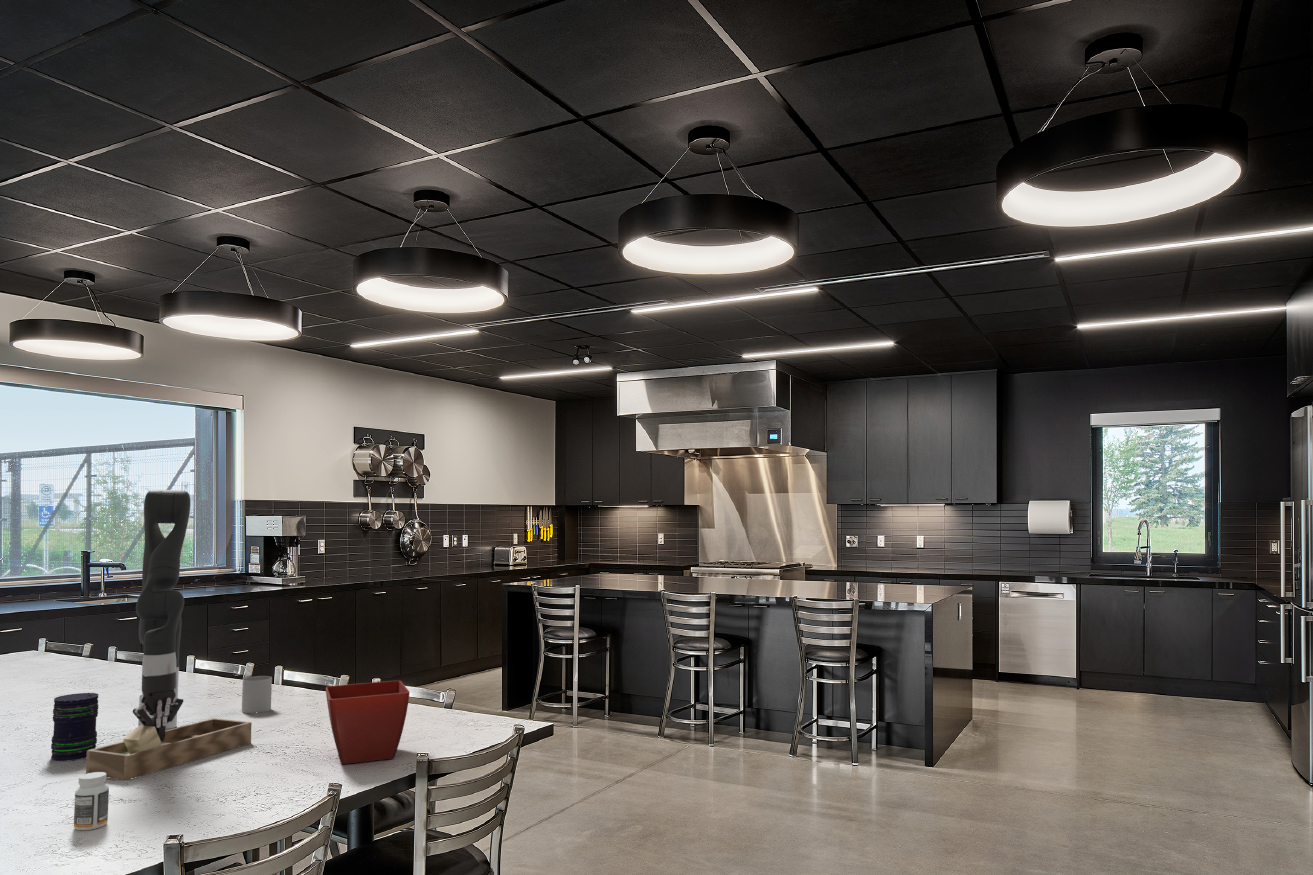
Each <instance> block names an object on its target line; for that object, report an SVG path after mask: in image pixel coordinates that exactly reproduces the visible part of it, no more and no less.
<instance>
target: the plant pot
mask: <svg viewBox="0 0 1313 875" xmlns="http://www.w3.org/2000/svg"><path fill="white" fill-rule="evenodd" d="M325 694H326V695H325V696H326V703H327V709H328V717H329V722H330V723H329V724H330V727H331V733H332V737H333V740H334V743H335V747H336V748H335V749H336V751H337V754H338V758H339V762H340V764H342V765H347V764H355V763H362V762H363V763H366V762H374V761H382V760H390V759H394V758H395V756H396V753H397V751H398V747H399V745H400V741H401V738H402V735H403V730H404V726H405V722H406V719H407V718H406V717H407V713H408V709H409V708H408V706H409V700H410V690H409V689H408V688H407V687H406V686H405V684H404V683H403V681H402V680H388V681H387V680H386V681H374V682H361V683H351V684H341V685H329V686H326V687H325Z"/></svg>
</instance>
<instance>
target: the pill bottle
mask: <svg viewBox="0 0 1313 875" xmlns="http://www.w3.org/2000/svg"><path fill="white" fill-rule="evenodd" d="M106 780H107V775H106V773H105V772H94V773H88V774H86V773H85V774H82V775H80V776H79V777H78V785H79V787H78V788H77V789H76V790H75V793H74V808H73V810H74V812H73V828H74V830H76V831H80V830H86V831H93V830H96V828H97V829H99V828H102V827H104V826H105V825H106V824H107V823H108V820H109V794H110V787H109V785H108V784H107V783H105V782H106ZM92 829H93V830H92Z"/></svg>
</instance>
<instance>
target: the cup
mask: <svg viewBox="0 0 1313 875" xmlns="http://www.w3.org/2000/svg"><path fill="white" fill-rule="evenodd" d="M272 681H273V678H272V676H268V675H257V676H248V677H244V678H243V679H242V687H241V692H242V693H241V694H242V695H241V713H242V712H245V713H244V714H247V713H254V714H257V713H256V712H262V713H265V712H264V711H267V712H269V711H268V710H270V709H271V710H272V690H273V689H272V687H273V685H272V683H273V682H272ZM271 710H270V711H271Z"/></svg>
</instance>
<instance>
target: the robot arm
mask: <svg viewBox="0 0 1313 875" xmlns="http://www.w3.org/2000/svg"><path fill="white" fill-rule="evenodd" d="M190 513H191V495H190V493H189V492H188V491H186V490H179V489H178V490H176V489H172V490H171V489H150V490H148V492H146V493H145V497H144V501H143V523H144V524H143V526H144V527H143V528H144V530H143V531H144V532H143V533H144V547H143V558H142V571H141V572H142V574H141V578H142V580H141V581H142V583H141V584H142V586H141V588H142V590H141V592H140V594H139V596H138V599H137V601H136V605H135V612H136V615H137V617H138V618H139V622H138V639H139V642H140V644H142V645H143V656H142V661H141V662H142V663H141V695H139V702H138V703H139V704H138V707H137V708H133V709H132V714H134V716H135V717H136V719H138V725H137V727H138V726H139V725H142V726H150V727H151V726H152V727H155V728H156V731H157V733H158V736H159V738H160V740H161V742H162V741H164V738H165V730H169V729H173V728H177V726H178V725H177V724H178V712H179V710H180V709H181V707H182V705H183V704H184V699H183V698H179V681H180V680H179V675H180V647H181V635H182V626H183V625H182V624H183V623H182V622H183V621H182V620H183V619H182V614H183V610H184V607H185V597H184V595H183V594H182V593H181V592H180V591H179V590H173V589H174V588H175V587H176V586H177V584H178V582H179V579H180V570H181V554H182V550H183V545H184V542H185V537H186V534H187V528H188V524H189V519H190ZM159 524H169V525H170V524H173V527H172V529H171V531H170V532H169V533H168V534H167V535H166V536H164V535H163V533H162V531H161V528H160V525H159Z"/></svg>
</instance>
